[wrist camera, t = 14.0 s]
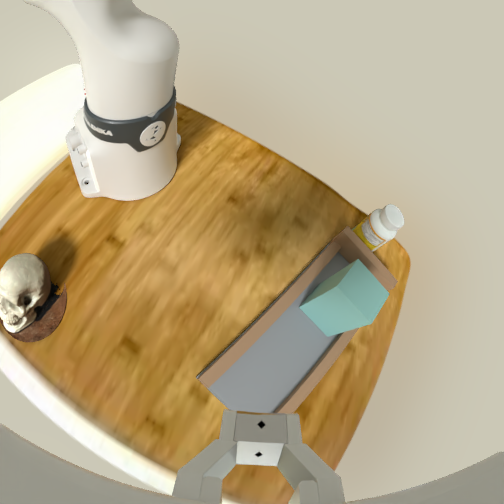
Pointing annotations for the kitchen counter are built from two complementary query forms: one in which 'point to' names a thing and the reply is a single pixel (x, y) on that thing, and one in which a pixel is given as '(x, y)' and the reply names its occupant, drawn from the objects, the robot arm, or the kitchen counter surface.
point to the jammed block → (345, 300)
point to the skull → (29, 299)
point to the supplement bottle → (379, 226)
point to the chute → (288, 340)
